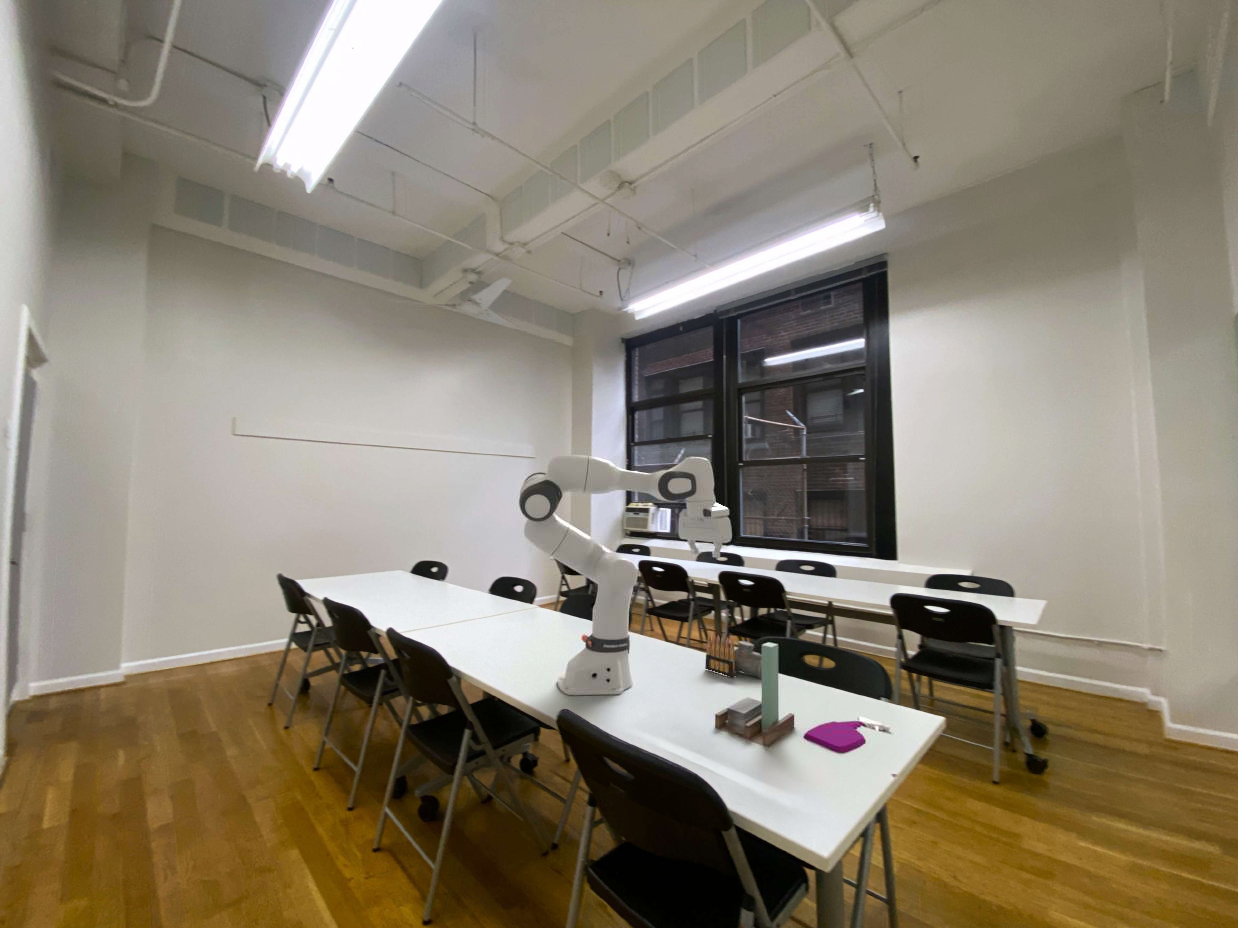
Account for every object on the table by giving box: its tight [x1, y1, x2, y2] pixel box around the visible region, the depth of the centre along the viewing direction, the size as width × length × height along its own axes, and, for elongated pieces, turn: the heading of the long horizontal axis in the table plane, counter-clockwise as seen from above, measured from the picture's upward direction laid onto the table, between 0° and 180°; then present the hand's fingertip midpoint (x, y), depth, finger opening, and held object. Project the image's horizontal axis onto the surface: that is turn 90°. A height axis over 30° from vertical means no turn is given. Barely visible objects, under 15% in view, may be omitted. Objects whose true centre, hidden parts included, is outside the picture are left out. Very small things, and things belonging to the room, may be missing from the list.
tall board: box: [761, 641, 780, 734], centre depth 115 cm, size 2×4×20 cm
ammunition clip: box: [704, 632, 737, 678], centre depth 159 cm, size 11×2×12 cm, turn 45°
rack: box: [714, 701, 796, 748], centre depth 116 cm, size 14×14×4 cm
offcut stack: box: [725, 697, 762, 735], centre depth 118 cm, size 5×11×4 cm, turn 137°
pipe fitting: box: [734, 640, 762, 679], centre depth 159 cm, size 12×8×10 cm
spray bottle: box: [803, 715, 891, 754], centre depth 115 cm, size 3×11×25 cm
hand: (705, 555), depth 147 cm, fingers open, 8 cm apart
